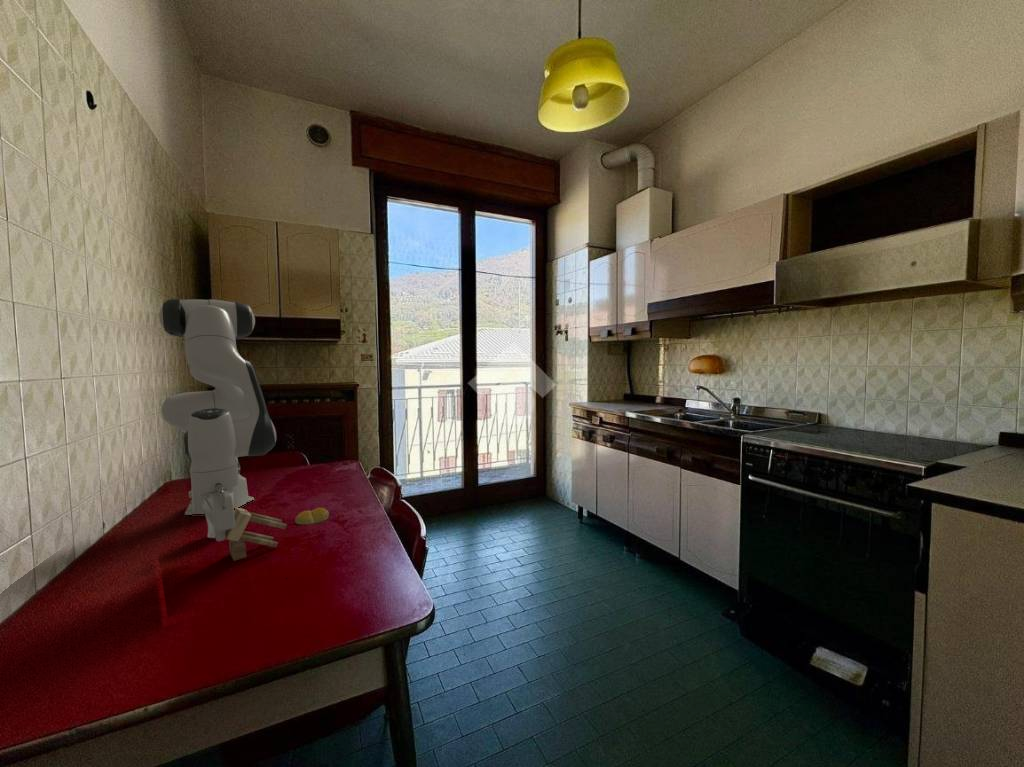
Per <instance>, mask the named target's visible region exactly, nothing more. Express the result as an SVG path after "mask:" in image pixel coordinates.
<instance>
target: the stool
mask: <svg viewBox="0 0 1024 767" xmlns="http://www.w3.org/2000/svg"><path fill="white" fill-rule="evenodd" d="M234 517H235V526H234V528H231V529H228V530H226V532H225V533H226V539H225V540H229V541H232V540H233V541H239V540H242V541H244V542H249V543H253V544H259V545H263V546H267V547H273V548H277V546H278V545H279V542H278V541H275V540H274V536H269V535H265V534H260V533H256V532H252V531H246V527H247V525H248V524H249V522H252V523H256V524H260V525H265V526H268V527H274V528H279V529H283V530H285V529H286V528H287V523H284V522H283V520H282V519H279V518H276V517H271V516H267V515H264V514H263V515H262V514H259V513H255V512H251V511H248V510H247V509H244V508H242V507H240V508H237V507H236V508H235V510H234Z"/></svg>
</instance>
